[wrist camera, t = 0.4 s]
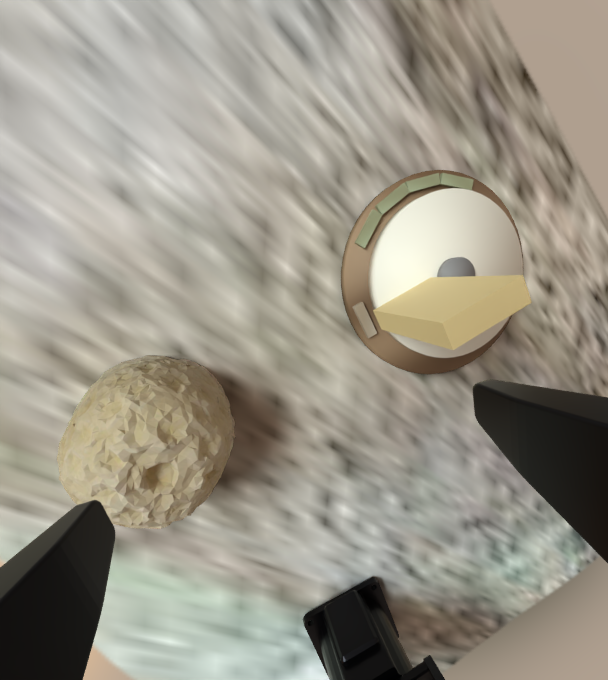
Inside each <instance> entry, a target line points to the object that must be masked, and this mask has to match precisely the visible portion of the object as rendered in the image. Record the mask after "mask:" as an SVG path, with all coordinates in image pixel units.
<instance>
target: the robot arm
mask: <svg viewBox="0 0 608 680" xmlns="http://www.w3.org/2000/svg"><path fill="white" fill-rule="evenodd" d="M473 399H474V410H475V416H476V419H477V421H478V423H479V424H480V425H481V427H482V428H483V429H484V430H485V432H486V433H487V434H488V435H489V436H490V438H491V439H492V440H493V441H494V443H495V444H496V445H497V446H498V448H499V449H500V450H501V451H502V453H503V454H504V455H505V456H506V458H507V459H508V460H509V461H510V462H511V464H512V465H513V466H514V467H515V468H516V470H517V471H518V472H519V473H520V474H521V475H522V476H523V477H524V478H525V479H526V481H527V482H528V483H529V484H530V485H531V486H532V487H533V488H534V489H535V490H536V491H537V492H538V493H539V494H540V495H541V496H542V497H543V498H544V499H545V500H546V501H547V502H548V503H549V504H550V505H551V506H552V507H553V508H554V509H555V510H556V511H557V512H558V513H559V514H560V515H561V516H562V517H563V518H564V519H565V520H566V521H567V522H568V523H569V524H570V525H571V526H572V527H573V528H574V529H575V530H576V531H577V532H578V533H579V534H580V535H581V537H582V538H583V539H584V540H585V541H586V542H587V543H588V544H589V545H590V546H591V547H592V548H593V549H594V550H595V551H596V552H597V553H598V554H599V555H600V556H601V557H602V558H603V559H604V560H605V561H606V562H607V563H608V398H607V397H601V396H595V395H588V394H582V393H575V392H569V391H563V390H556V389H550V388H543V387H537V386H530V385H524V384H518V383H511V382H505V381H498V380H491V379H490V380H486V381H483V382H479V383H476V384H475V385H474V386H473ZM114 542H115V529H114V526H113V524H112V522H111V520H110V518H109V516H108V515H107V513H106V511H105V509H104V507H103V505H102V504H101V502H99V501H98V500H92V501H89V502H85V503H82V504H79V505H77V506H75V507H74V508H73V509H71V510H70V511H69V512H68V513H66V514H65V515H64V516H63V517H62V518H60V519H59V520H58V521H57V522H55V523H54V524H53V525H52V526H51V527H49V528H48V529H47V530H46V531H44V532H43V533H42V534H41V535H40V536H38V537H37V538H36V539H35V540H33V541H32V542H31V543H30V544H29V545H27V546H26V547H25V548H24V549H22V550H21V551H20V552H19V553H17V554H16V555H15V556H14V557H13V558H11V559H10V560H9V561H8V562H6V563H5V564H4V565H3V566H2V567H0V680H83V676H84V673H85V669H86V666H87V662H88V659H89V655H90V651H91V648H92V644H93V641H94V637H95V634H96V630H97V627H98V623H99V619H100V615H101V611H102V606H103V602H104V597H105V591H106V586H107V580H108V575H109V569H110V564H111V559H112V553H113V548H114ZM372 585H373V586H372ZM309 620H311V621H309ZM303 622H304V626H305V628H306V630H307V632H308V634H309V637H310V639H311V641H312V643H313V645H314V647H315V649H316V651H317V654H318V656H319V658H320V660H321V662H322V664H323V666H324V669H325V671H326V673H327V675H328V677H329V679H330V680H445V679H444V677H443V675H442V674H441V672H440V670H439V669H438V667H437V665H436V664H435V662H434V661H433V659H432V657H431V656H430V655H429V656H428V657H426V658H424V659H423V660H424V661H423V662H422V663H420V664H419V665H417V666H416V667H414V668H413V667H412V665H411V663H410V661H409V659H408V657H407V655H406V653H405V651H404V649H403V647H402V645H401V643H400V641H399V639H398V638H399V634H398V631H397V629H396V626H395V624H394V621H393V618H392V616H391V613H390V611H389V608H388V605H387V603H386V600H385V598H384V595H383V593H382V590H381V587H380V585H379V583H378V581H377V579H375V578H370V579H368V580H367V581H365V582H363V583H361V584H359V585H358V586H356V587H354V588H352V589H350V590H349V591H347V592H345V593H343V594H341V595H340V596H338V597H336V598H334V599H332V600H331V601H329V602H327V603H325V604H323V605H322V606H320V607H318V608H316V609H314V610H312V611H311V612H309V613H307V614H306V615H305V616H304V618H303Z"/></svg>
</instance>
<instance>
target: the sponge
mask: <svg viewBox="0 0 608 680" xmlns="http://www.w3.org/2000/svg"><path fill="white" fill-rule="evenodd" d="M68 424H69V425H68V427H67V429H66V431H65V433H64V435H63V437H62V439H61V441H60V443H59V451H58V456H57V461H58V464H59V472H60V476H59V480H60V481H61V483H62V484H63V486H64V488H65V490H66V491H67V493H68V494H69V496H70V497H71V499H72V500H73V501H74V502H75V503H76V504H77V505H79V504H82V503H85V502H89V501H92V500H98V501H99V502H101V504H102V505H103V507H104V509H105V511H106V513H107V515H108V516H109V518H110V520H111V522H112V524H116V525H121V526H124V527H129V528H137V529H138V528H150V529H160V528H164V527H166V526H168V525H170V524H171V523H172V522H173V521H178V520H182V519H183V518H184V517H186V516H191V513H193V512H194V510H195V509H196V507H197V506H199V505H200V504H202V503H203V502H204V501H205V500H206V499H207V498H208V497H209V496H210V494H211V493H212V491H213V489H214V487H215V485H216V484H217V483H218V480H219V479H220V478H221V475H222V472H223V470H224V469H225V465H226V463H227V461H228V459H229V456H230V453H231V450H232V447H233V439H234V438H235V434H234V429H233V428H234V427H235V420H234V418H233V417H232V414H231V411H230V403H229V400H228V398H227V396H226V395H225V392H224V390H223V388H222V386H221V384H220V383H219V382H218V380H217V379H216V378H215V377H214V375H212V374H211V373H210V372H209V371H208V370H207V369H206V368H205V367H204V366H201V365H199V364H197V363H195V362H192V361H189V360H186V359H180V360H177V359H171V358H170V357H164V356H151V355H146V356H145V357H143V358H137V359H133V360H129V361H125V362H121V363H120V364H118V365H116V366H115V367H113V368H111V369H109V370H107V371H105V372H104V373H103V375H102V376H101V378H100V379H99V380H98V381H97V382H96V383H94V384H93V385H92V386H91V387H90V388H89V390H88V392H87V393H86V394H85V395H84V397H83V398H82V400H81V402H80V403H79V404H78V406H77V408H76V410H75V412H74V414H73V416H72V419H71V420H70V421H69V423H68Z"/></svg>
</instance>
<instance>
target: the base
mask: <svg viewBox="0 0 608 680" xmlns="http://www.w3.org/2000/svg"><path fill="white" fill-rule="evenodd" d="M449 188H461V189H467V190H472V191H475V192H477V193H480V194H482V195H484V196H486V197H487V198H489V199H491V200H492V201H493V202H494V203H496V204H497V205H498V206H499V207H500V208H501V209H502V210H503V211H504V212H505V214H506V215H507V217H508V218H509V219H510V221H511V223H512V225H513V226H514V228H515V231H516V233H517V236H518V238H519V234H518V231H517V228H516V226H515V223H514V220H513V219H512V217H511V215H510V213H509V211H508V209H507V208H506V206H505V205H504V204H503V202H502V201H501V200H500V198H499V197H498V196H497V195H496V194H495V193H494V192H493V191H492V190H491V189H489V188H488V187H487V186H486V185H484V184H483V183H481V182H480V181H478V180H476V179H474V178H473V177H470V176H467V175H465V174H462V173H458V172H454V171H446V170H434V171H425V172H421V173H417V174H413V175H411V176H409V177H406V178H404V179H402V180H400V181H398V182H396V183H395V184H393V185H392V186H390V187H388V188H387V189H385V190H384V191H383V192H381V193H380V194H379V195H378V196H376V197H375V198H374V199H373V200H372V201H371V203H370V204H369V205H368V206H367V207H366V208H365V209H364V211H363V212H362V214H361V215H360V216H359V218H358V219H357V221H356V223H355V225H354V227H353V229H352V231H351V233H350V236H349V238H348V241H347V244H346V247H345V251H344V255H343V261H342V269H341V288H342V296H343V301H344V305H345V309H346V312H347V315H348V317H349V320H350V322H351V325H352V326H353V328H354V330H355V332H356V333H357V335H358V336H359V338H360V339H361V340H362V342H363V343H364V344H365V345H366V346H367V347H368V348H369V349H370V350H371V351H372V352H373V353H374V354H375V355H377V356H378V357H379V358H381V359H382V360H384V361H386V362H388V363H390V364H391V365H393V366H396V367H398V368H401V369H403V370H406V371H410V372H415V373H422V374H435V373H443V372H447V371H451V370H454V369H457V368H459V367H462V366H464V365H466V364H468V363H470V362H472V361H473V360H475V359H476V358H477V357H479V356H480V355H482V354H483V353H484V352H485V351H486V350H487V349H488V348H489V347H491V345H492V344H493V343H494V342H495V341H496V340H497V339H498V337H499V336H500V335H501V333H502V332H503V330H504V329H505V327H506V326H507V324H508V322H509V320H510V318H511V316H512V315H510V317H509V319H508V320H507V322H506V323H505V324H504V326H503V327H502V328H501V330H500V331H499V332H498V333H497V334H496V335H495V336H494V337H493V338H492V339H491V340H490V341H489V342H487V343H486V344H484V345H483V346H482V347H480V348H478V349H476V350H475V351H473V352H470V353H468V354H465V355H462V356H457V357H451V358H437V357H431V356H427V355H424V354H421V353H418V352H415V351H413V350H410V349H408V348H406V347H404V346H403V345H401V344H399V343H398V342H397V341H396V340H394V339H393V338H392V337H391V336H390V335H389V334H388V333H387V332H386V331H385V330H382V329H381V327H380V325H379V323H378V321H377V318H376V316H375V314H374V312H373V310H374V309H373V306H372V303H371V298H370V294H369V285H368V272H369V264H370V259H371V255H372V251H373V248H374V246H375V243H376V240H377V238H378V237H379V235H380V233H381V231H382V229H383V228H384V226H385V225H386V224H387V222H388V221H389V220H390V219H391V218H392V216H393V215H394V214H395V213H396V212H397V211H399V210H400V209H401V208H402V207H403V206H405V205H406V204H408V203H410V202H411V201H413V200H415V199H417V198H420V197H422V196H424V195H427V194H429V193H431V192H434V191H438V190H442V189H449ZM519 242H520V238H519ZM520 246H521V242H520ZM521 251H522V248H521ZM522 258H523V255H522Z"/></svg>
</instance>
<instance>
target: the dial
mask: <svg viewBox="0 0 608 680" xmlns="http://www.w3.org/2000/svg"><path fill="white" fill-rule="evenodd" d="M368 285H369V294H370V298H371V303H372V306H373V309H374V310H373V312H374V314H375V316H376V318H377V321H378V323H379V325H380V327H381V329H382V330H385V331H386V332H387V333H388V334H389V335H390V336H391V337H392V338H393V339H394V340H396V341H397V342H398V343H399V344H401V345H403V346H404V347H406V348H408V349H410V350H413V351H415V352H418V353H421V354H424V355H427V356H431V357H437V358H451V357H457V356H462V355H465V354H468V353H470V352H473V351H475V350H476V349H478V348H480V347H482V346H483V345H484V344H486V343H487V342H489V341H490V340H491V339H492V338H493V337H494V336H495V335H496V334H497V333H498V332H499V331H500V330H501V328H502V327H503V326H504V324H505V323H506V322H507V320H508V319H509V317H510V315H512V314H514V313H515V312H517V311H519V310H520V309H522V308H523V307H525V306H527V305H528V304H530V303H532V302H531V299H530V295H529V292H528V289H527V286H526V283H525V280H524V277H523V258H522V251H521V246H520V242H519V238H518V236H517V233H516V231H515V228H514V226H513V225H512V223H511V221H510V219H509V218H508V217H507V215H506V214H505V212H504V211H503V210H502V209H501V208H500V207H499V206H498V205H497V204H496V203H494V202H493V201H492V200H491V199H489V198H487V197H486V196H484V195H482V194H480V193H477V192H475V191H472V190H467V189H461V188H449V189H442V190H438V191H434V192H431V193H429V194H427V195H424V196H422V197H420V198H417V199H415V200H413V201H411V202H410V203H408V204H406V205H405V206H403V207H402V208H401V209H400V210H399V211H397V212H396V213H395V214H394V215H393V216H392V218H391V219H390V220H389V221H388V222H387V224H386V225H385V226H384V228H383V229H382V231H381V233H380V235H379V237H378V238H377V240H376V243H375V246H374V248H373V251H372V255H371V259H370V264H369V272H368Z"/></svg>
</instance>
